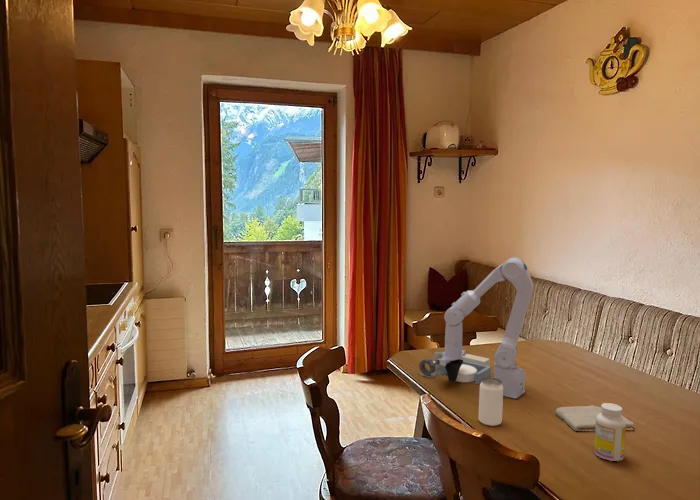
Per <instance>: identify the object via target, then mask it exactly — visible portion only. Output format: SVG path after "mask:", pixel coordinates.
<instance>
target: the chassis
mask: <svg viewBox="0 0 700 500" xmlns="http://www.w3.org/2000/svg"><path fill="white" fill-rule="evenodd" d="M461 360H463V364H464V365H470V366H473V367H474V368H476V369H477V373H476V374H475V381H474V384H475V385H480V384H481V382H482V379H483V378H491V374H492V371H491V370H492V367H491V366H490V365H491V363H490V360H491V358H488V357H484V356H483V357H482V356H480V355H479V356H478V355H474V354H470V353H466V355H465V356H463V357H462V358H461ZM440 375H441V376H445V375H448V374H447V371H446V368H445V366H443V365H442V373H440Z"/></svg>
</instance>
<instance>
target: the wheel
mask: <svg viewBox="0 0 700 500" xmlns="http://www.w3.org/2000/svg"><path fill="white" fill-rule="evenodd" d="M433 361H434V360H432V359H430V358H424V359H423V360H421V361H420V362H419V365H418V366H419V367H418V368H419V370H420V373H423V374H424V375H430V374H432V373H433V372H434V371H435V364H434V362H433ZM426 364H427V365H428V367H429V369H430V370H428V368H427V367H426Z"/></svg>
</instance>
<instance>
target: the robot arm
mask: <svg viewBox="0 0 700 500" xmlns="http://www.w3.org/2000/svg"><path fill="white" fill-rule="evenodd" d="M506 280H507V281H509V282H510V283H511V284H512V285H513V286H514V288H515V290H516V294H515V298H514V301H513V305H512V308H511V311H510V313H509V318H508V321H507V324H506V327H505V332H504V334H503V339H502V340H501V343H500V344H499V345H498V347H497V350H496V352H494V353H495V354H494V355H493V357H494V358H493V359H494V363H493V378H496V379H499V380H501V381H502V385H503V397H507V398H511V399H515V400H516V399H518V398H520V397H521V396H522V395H523V394H525V393H526V390H525V386H526V383H525V382H526V370H525V369H524V368H521V367H519V366H518V363H517V362H516V358H517V355H518V345H517V344H518V342H519V338H520V334H521V332H522V329H523V326H524V321H525V318H526V315H527V311H528V308H529V305H530V303H531V302H530V301H531V299H532V295H533V291H534V282H533V281H532V276H531V274H530V271H529V267H528V265H527V264H526V263H525V261H524V260H523V259H521V258H520V257H519V256H512V257H511V256H510V258H508V259H507V260H506V261H505V262H503V263H501V264H500V265H499V266H497V267H496V268H495V269H493V270H491V272H490V273H489V274H488V275H487V276H486V277H485V278H484V279H483V280H482V281H481V282H480V283H479V284H478V285H477V286H476V287H475V289H473V290H466V291H463V292H462V293H461V294H460V295H461V296H460V297H459V298H458V299H457V300H456V301H453V303H451V307H449V308H447V310H446V311H445V313H444V315H443V319H444V321H445V329H444V330H445V331H444V335H445V336H444V351H442V355H443V357H442V358H441V359H440V365H443V366H445V368H446V371H447V374H446V375H447V378H448V381H450V382H453V383H454V382H457V381H456V379H457V375H458V372H459V369H460V367H461V365H462V364H463V360H461V358H462V357H463V356H465V355H466V354H467V353H466V352H467V350H466V349H463V320H465V317H467V316H468V315H470V314H471V313H472V311H473V310H475V309H476V308H477V307H478V306H479V305H480V304H481V297H482V296H483V295H484V294H486V292H488V291H489V290H490V289H491V288H492V287H493V286H494V285H495V284H496V283H498V282H504V281H506Z"/></svg>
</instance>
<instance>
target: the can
mask: <svg viewBox="0 0 700 500" xmlns="http://www.w3.org/2000/svg"><path fill="white" fill-rule="evenodd" d="M478 394H479V396H478V399H479V400H478V421H479V422H480V423H481V424H482V425H485V426H490V427H496V426H500V425H501V424H502V421H503V407H504V405H503V403H504V396H503V385H502V381H501V380H499V379H496V378H494V377H489V378H483V379H482V382H481V383H479V393H478Z"/></svg>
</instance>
